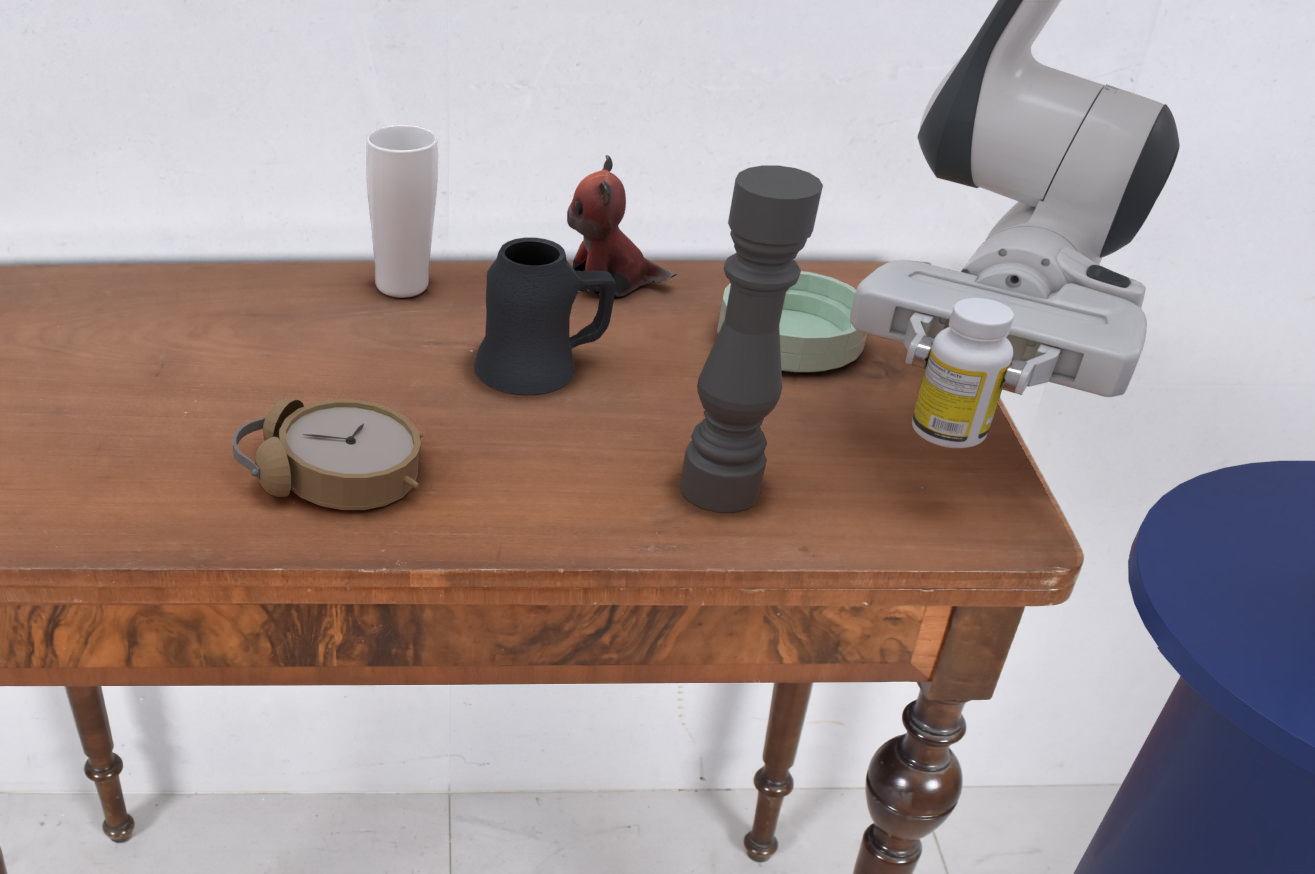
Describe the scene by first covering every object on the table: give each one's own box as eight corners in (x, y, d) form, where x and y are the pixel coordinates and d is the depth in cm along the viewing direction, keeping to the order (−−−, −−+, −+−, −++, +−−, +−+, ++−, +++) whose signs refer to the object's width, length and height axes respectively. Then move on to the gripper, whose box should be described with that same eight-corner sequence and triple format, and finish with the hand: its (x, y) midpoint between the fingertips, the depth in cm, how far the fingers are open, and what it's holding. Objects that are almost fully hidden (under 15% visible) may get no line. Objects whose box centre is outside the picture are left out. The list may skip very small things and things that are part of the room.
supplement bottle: (961, 407, 98) (998, 288, 92) (1000, 445, 94) (1043, 324, 88) (895, 416, 97) (929, 296, 91) (933, 454, 93) (970, 333, 87)
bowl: (881, 331, 121) (891, 292, 119) (833, 392, 113) (843, 352, 110) (749, 295, 127) (756, 257, 124) (693, 351, 119) (700, 311, 116)
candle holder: (759, 472, 104) (825, 167, 87) (759, 517, 99) (829, 204, 83) (681, 463, 105) (732, 160, 88) (678, 507, 100) (730, 196, 84)
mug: (485, 398, 112) (491, 279, 105) (464, 347, 119) (468, 232, 112) (618, 387, 114) (633, 268, 106) (590, 337, 121) (602, 222, 113)
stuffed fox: (680, 304, 125) (698, 184, 118) (564, 304, 126) (575, 184, 118) (668, 269, 131) (685, 153, 123) (558, 269, 131) (568, 152, 123)
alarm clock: (421, 485, 97) (224, 450, 96) (410, 536, 100) (219, 502, 99) (427, 406, 106) (246, 373, 105) (416, 455, 109) (240, 423, 108)
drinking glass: (376, 307, 125) (374, 154, 115) (361, 276, 130) (358, 127, 120) (443, 299, 126) (447, 147, 117) (426, 269, 131) (428, 121, 122)
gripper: (891, 225, 103) (831, 293, 94) (1170, 289, 94) (1133, 370, 85) (873, 298, 107) (814, 369, 98) (1139, 365, 98) (1100, 450, 89)
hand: (965, 370), depth 92 cm, fingers closed on supplement bottle, 5 cm apart
